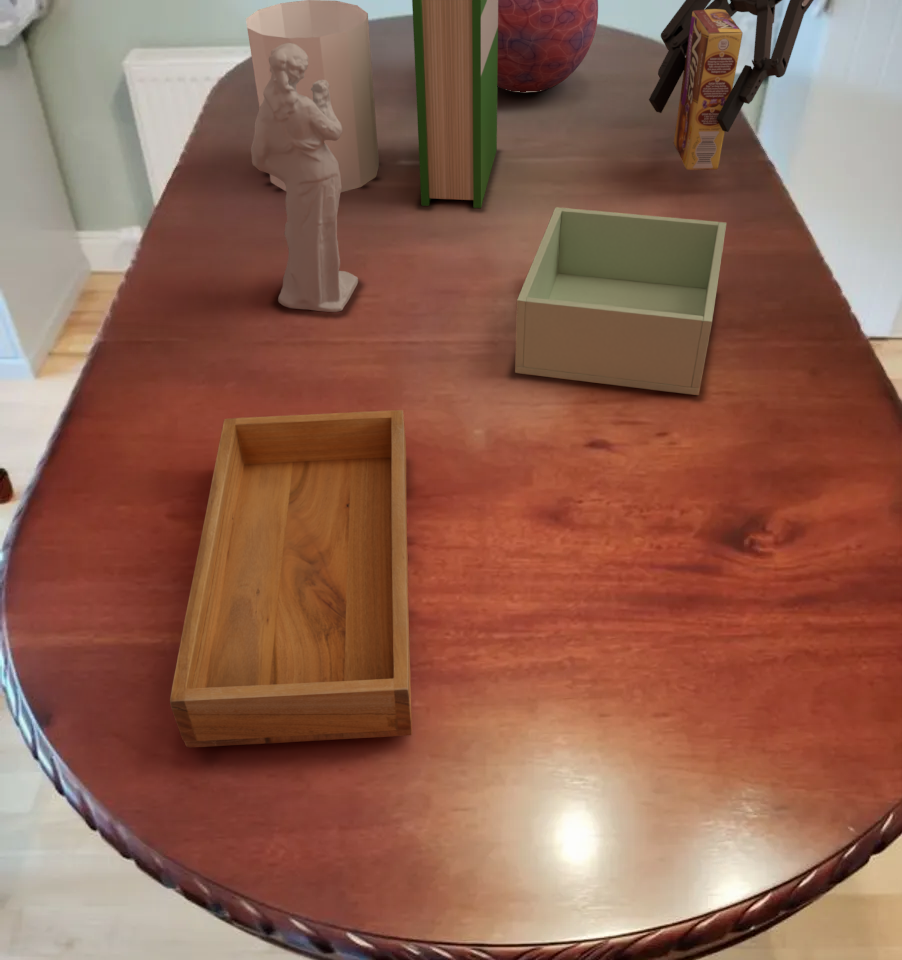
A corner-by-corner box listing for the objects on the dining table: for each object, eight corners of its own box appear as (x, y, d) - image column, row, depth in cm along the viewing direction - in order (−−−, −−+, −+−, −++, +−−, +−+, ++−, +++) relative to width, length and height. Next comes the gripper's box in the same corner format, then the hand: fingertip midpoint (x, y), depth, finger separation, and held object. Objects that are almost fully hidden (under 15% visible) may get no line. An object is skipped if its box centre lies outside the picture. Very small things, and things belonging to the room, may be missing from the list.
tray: (234, 467, 88) (222, 413, 84) (406, 459, 88) (403, 405, 84) (186, 755, 66) (166, 701, 62) (413, 743, 67) (409, 689, 63)
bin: (713, 292, 107) (726, 222, 101) (698, 395, 94) (712, 321, 88) (551, 276, 110) (555, 206, 105) (514, 373, 97) (516, 300, 91)
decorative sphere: (610, 106, 144) (624, -56, 130) (476, 120, 142) (474, -43, 127) (569, 60, 158) (578, -90, 144) (446, 73, 155) (442, -79, 141)
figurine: (342, 263, 113) (315, 17, 95) (375, 302, 107) (353, 47, 89) (262, 282, 111) (219, 34, 93) (291, 323, 104) (251, 65, 86)
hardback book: (480, 208, 122) (480, -15, 105) (421, 205, 123) (411, -16, 106) (496, 149, 134) (498, -59, 117) (442, 147, 135) (436, -60, 118)
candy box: (721, 170, 121) (744, 31, 110) (686, 171, 121) (705, 32, 110) (706, 141, 127) (726, 7, 117) (672, 143, 127) (689, 8, 117)
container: (389, 152, 135) (379, 1, 122) (364, 198, 125) (351, 40, 112) (286, 146, 137) (266, -2, 124) (254, 192, 127) (228, 36, 114)
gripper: (878, -33, 113) (775, 154, 117) (715, -61, 124) (625, 111, 127) (868, -79, 107) (759, 120, 110) (697, -105, 117) (603, 78, 121)
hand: (688, 115), depth 119 cm, fingers closed on candy box, 9 cm apart
